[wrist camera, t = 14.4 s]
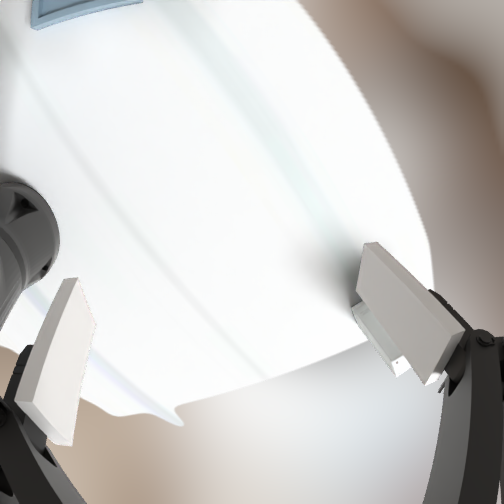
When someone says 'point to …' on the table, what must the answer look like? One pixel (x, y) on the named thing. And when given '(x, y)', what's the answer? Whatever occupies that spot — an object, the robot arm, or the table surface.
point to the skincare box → (380, 339)
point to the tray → (69, 10)
